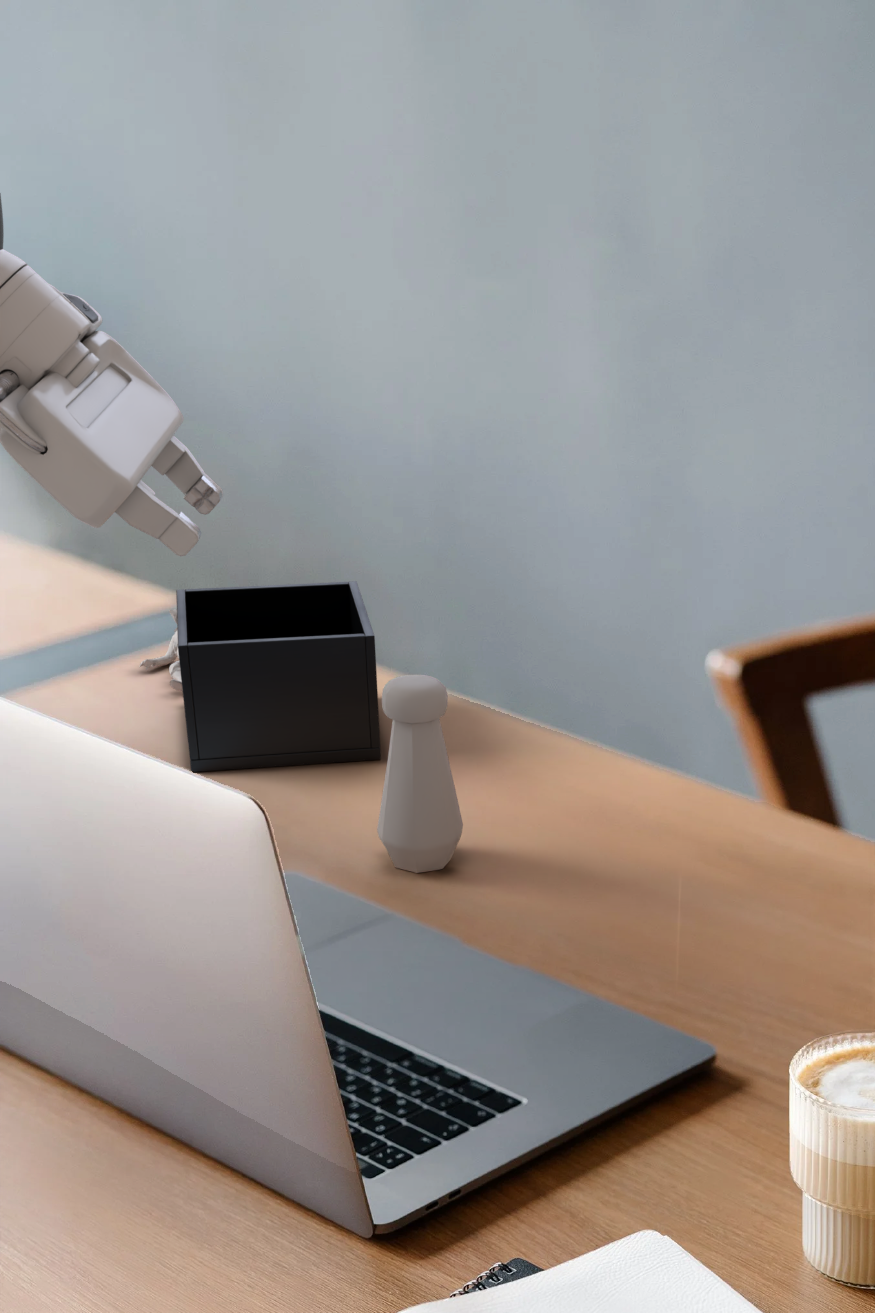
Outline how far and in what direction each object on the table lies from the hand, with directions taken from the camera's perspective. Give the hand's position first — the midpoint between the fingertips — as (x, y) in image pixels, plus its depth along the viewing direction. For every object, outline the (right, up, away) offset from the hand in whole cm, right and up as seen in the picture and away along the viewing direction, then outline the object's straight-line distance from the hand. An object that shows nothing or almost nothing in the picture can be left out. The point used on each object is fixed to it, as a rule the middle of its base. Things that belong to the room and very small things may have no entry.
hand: (205, 524), depth 111 cm
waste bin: (-2, -8, +34) cm, 35 cm away
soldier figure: (-13, -2, +46) cm, 48 cm away
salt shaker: (+12, -20, +13) cm, 27 cm away
